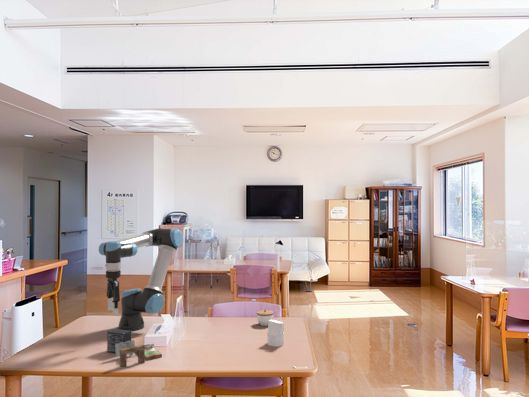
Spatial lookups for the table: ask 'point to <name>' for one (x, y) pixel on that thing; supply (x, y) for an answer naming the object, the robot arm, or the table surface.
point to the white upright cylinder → (275, 333)
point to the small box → (117, 338)
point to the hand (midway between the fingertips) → (113, 312)
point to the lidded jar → (264, 316)
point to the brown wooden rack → (126, 346)
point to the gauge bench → (139, 354)
